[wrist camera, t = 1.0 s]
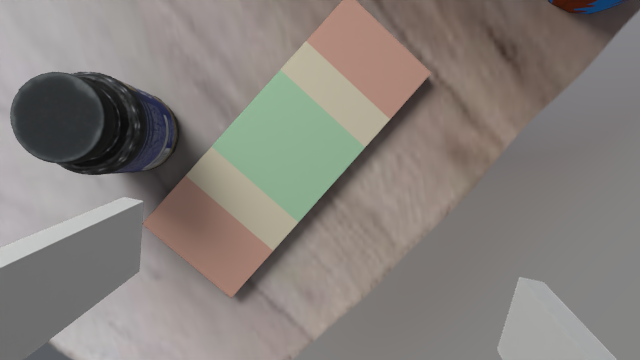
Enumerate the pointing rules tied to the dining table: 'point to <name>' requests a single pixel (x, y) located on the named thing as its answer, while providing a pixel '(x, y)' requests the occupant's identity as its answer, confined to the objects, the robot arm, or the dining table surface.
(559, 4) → the thermos
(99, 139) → the pill bottle
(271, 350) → the dining table surface
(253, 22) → the dining table surface
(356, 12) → the gauge plate
